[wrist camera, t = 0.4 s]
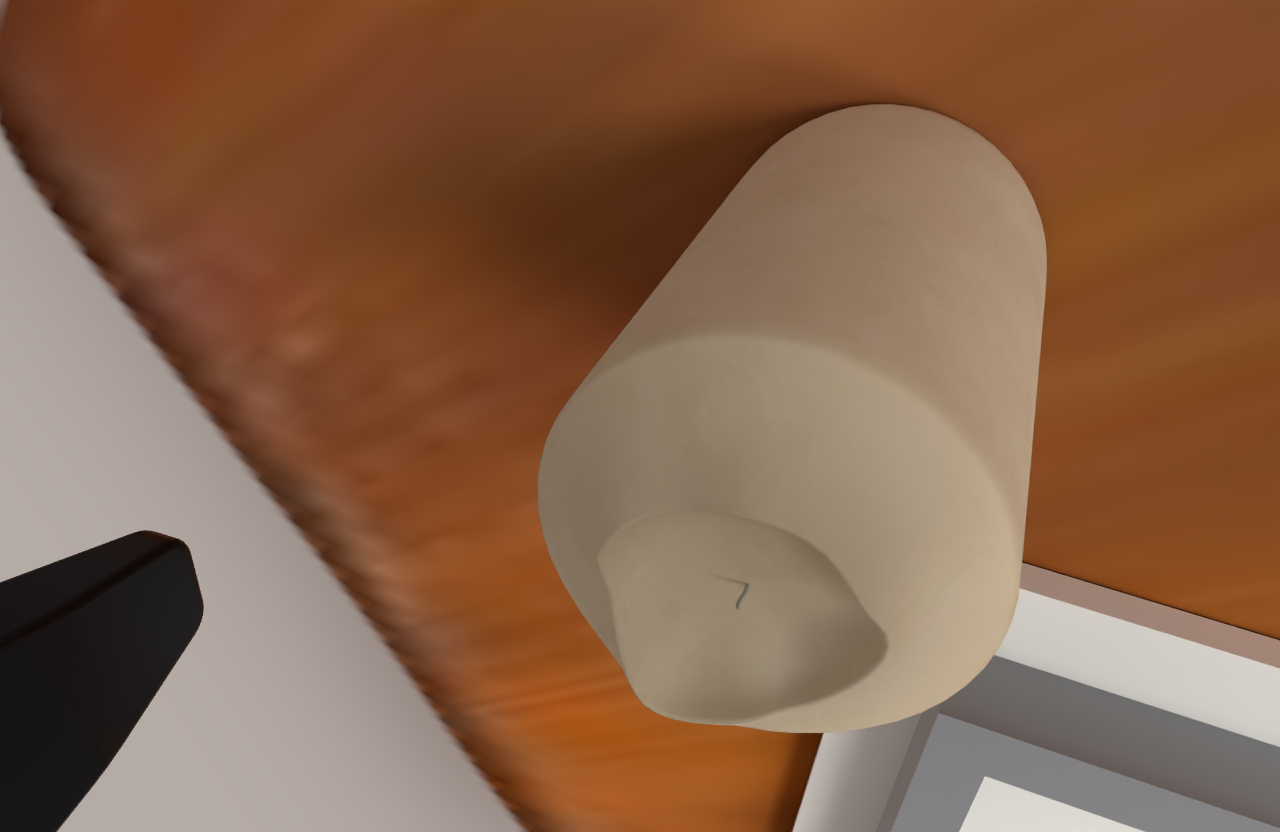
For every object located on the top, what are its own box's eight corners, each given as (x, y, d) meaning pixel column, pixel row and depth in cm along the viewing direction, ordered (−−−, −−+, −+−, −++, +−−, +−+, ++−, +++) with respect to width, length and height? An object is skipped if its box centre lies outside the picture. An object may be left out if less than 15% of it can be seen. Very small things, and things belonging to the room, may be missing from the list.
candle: (892, 445, 21) (767, 890, 13) (671, 261, 20) (400, 603, 12) (1124, 250, 17) (1149, 687, 9) (866, 25, 17) (667, 286, 9)
